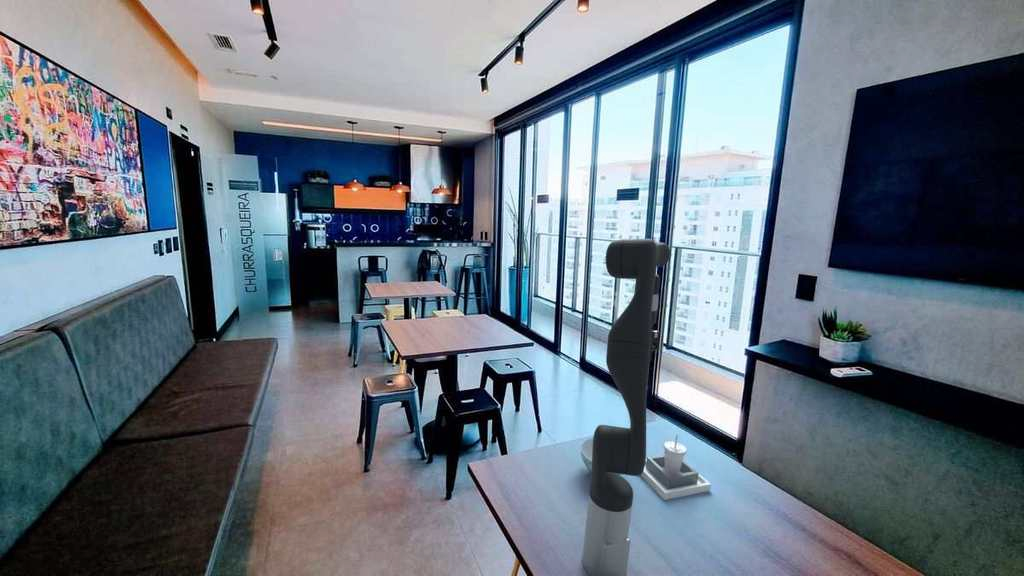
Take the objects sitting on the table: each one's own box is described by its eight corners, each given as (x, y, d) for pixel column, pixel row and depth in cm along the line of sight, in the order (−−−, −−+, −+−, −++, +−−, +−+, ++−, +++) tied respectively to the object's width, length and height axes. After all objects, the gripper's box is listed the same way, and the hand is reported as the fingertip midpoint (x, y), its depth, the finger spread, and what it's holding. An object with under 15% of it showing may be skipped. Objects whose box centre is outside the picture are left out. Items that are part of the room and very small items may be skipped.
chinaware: (624, 461, 130) (626, 439, 129) (632, 493, 116) (635, 469, 114) (577, 456, 132) (579, 435, 130) (579, 487, 117) (582, 463, 116)
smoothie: (660, 479, 120) (665, 436, 118) (659, 467, 126) (665, 426, 124) (683, 485, 119) (689, 441, 116) (681, 472, 125) (687, 430, 122)
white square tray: (710, 490, 118) (712, 476, 118) (664, 500, 114) (666, 485, 113) (675, 460, 132) (677, 447, 132) (633, 467, 128) (634, 454, 127)
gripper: (670, 312, 119) (663, 364, 122) (641, 301, 133) (635, 348, 136) (648, 313, 117) (642, 366, 120) (621, 301, 130) (616, 349, 133)
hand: (638, 356), depth 128 cm, fingers open, 8 cm apart
